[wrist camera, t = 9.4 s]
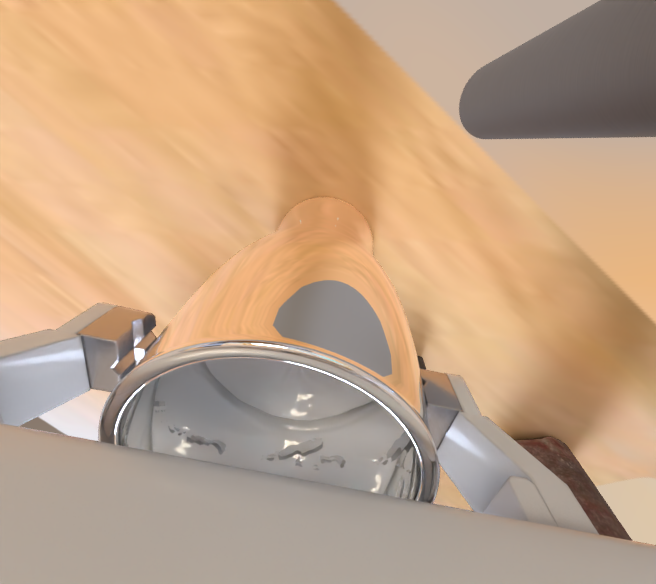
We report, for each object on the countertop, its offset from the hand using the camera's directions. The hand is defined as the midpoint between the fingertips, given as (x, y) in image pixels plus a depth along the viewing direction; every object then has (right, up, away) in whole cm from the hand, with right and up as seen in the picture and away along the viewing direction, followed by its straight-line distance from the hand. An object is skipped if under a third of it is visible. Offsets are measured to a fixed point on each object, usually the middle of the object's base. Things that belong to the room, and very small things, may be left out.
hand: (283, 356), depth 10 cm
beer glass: (+1, +5, +10) cm, 11 cm away
